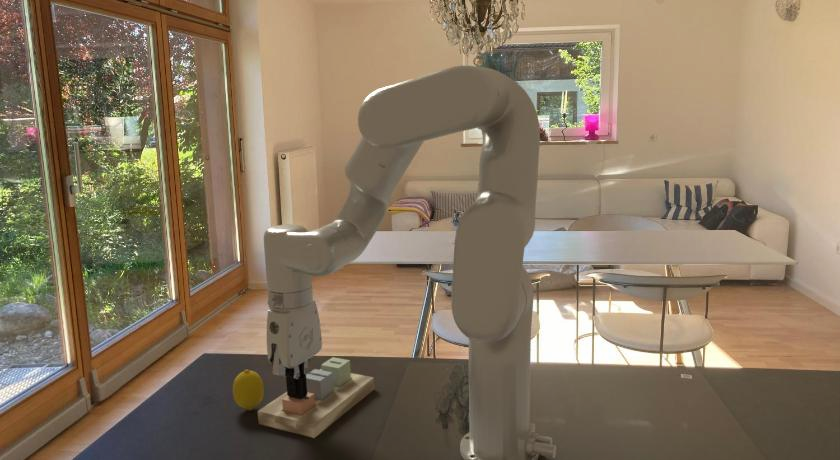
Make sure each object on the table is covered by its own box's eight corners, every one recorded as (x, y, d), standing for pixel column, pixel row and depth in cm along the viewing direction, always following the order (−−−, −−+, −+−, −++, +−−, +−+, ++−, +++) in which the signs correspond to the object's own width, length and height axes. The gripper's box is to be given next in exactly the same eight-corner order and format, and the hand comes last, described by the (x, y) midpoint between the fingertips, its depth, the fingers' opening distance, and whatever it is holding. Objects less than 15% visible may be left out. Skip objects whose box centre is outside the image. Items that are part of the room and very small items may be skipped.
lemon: (257, 418, 115) (253, 377, 114) (229, 416, 117) (225, 375, 115) (270, 404, 121) (267, 364, 119) (243, 402, 122) (239, 362, 120)
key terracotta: (317, 416, 115) (315, 393, 114) (303, 427, 111) (301, 403, 111) (296, 411, 117) (294, 389, 116) (282, 421, 113) (280, 398, 113)
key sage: (351, 381, 125) (349, 359, 124) (339, 389, 122) (338, 367, 121) (334, 377, 127) (332, 356, 126) (322, 386, 124) (320, 364, 123)
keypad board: (374, 389, 126) (373, 377, 125) (314, 438, 108) (313, 424, 108) (323, 378, 131) (322, 367, 130) (258, 423, 113) (257, 410, 113)
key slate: (333, 394, 120) (332, 371, 119) (321, 403, 116) (320, 380, 116) (316, 390, 122) (314, 368, 121) (303, 399, 118) (302, 376, 117)
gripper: (280, 313, 101) (288, 419, 105) (333, 287, 114) (338, 382, 118) (243, 307, 105) (252, 410, 108) (299, 283, 118) (305, 375, 122)
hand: (297, 395), depth 113 cm, fingers closed
